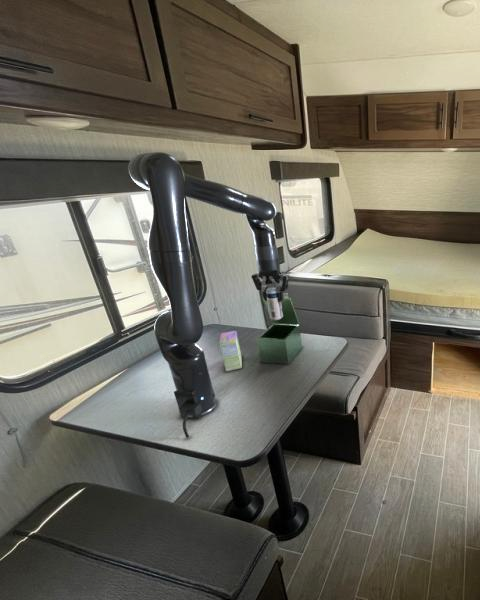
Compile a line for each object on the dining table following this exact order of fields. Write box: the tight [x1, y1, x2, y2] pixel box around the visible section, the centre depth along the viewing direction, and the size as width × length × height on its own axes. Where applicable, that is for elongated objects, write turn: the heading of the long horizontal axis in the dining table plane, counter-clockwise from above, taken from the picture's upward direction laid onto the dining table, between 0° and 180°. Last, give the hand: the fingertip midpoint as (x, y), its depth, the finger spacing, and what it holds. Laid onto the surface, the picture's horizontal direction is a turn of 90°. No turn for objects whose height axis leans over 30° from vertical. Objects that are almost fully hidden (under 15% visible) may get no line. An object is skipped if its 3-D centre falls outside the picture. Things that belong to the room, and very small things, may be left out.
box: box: [218, 330, 243, 372], centre depth 126 cm, size 10×6×12 cm, turn 25°
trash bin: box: [256, 323, 303, 365], centre depth 132 cm, size 14×12×11 cm
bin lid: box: [261, 292, 300, 325], centre depth 133 cm, size 14×12×5 cm
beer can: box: [266, 286, 283, 321], centre depth 123 cm, size 5×5×12 cm
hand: (274, 300), depth 122 cm, fingers closed on beer can, 4 cm apart
